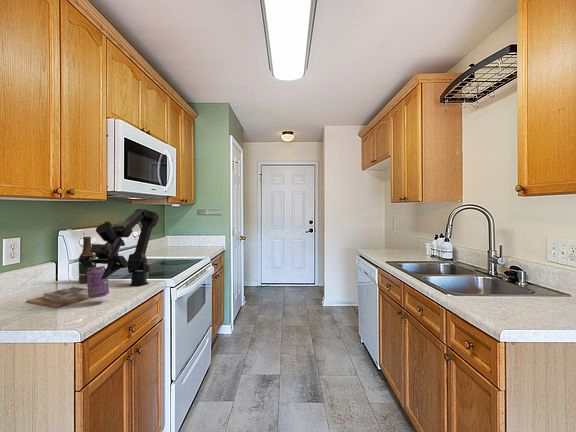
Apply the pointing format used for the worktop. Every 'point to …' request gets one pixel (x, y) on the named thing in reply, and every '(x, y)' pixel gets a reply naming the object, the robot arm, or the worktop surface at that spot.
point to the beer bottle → (85, 252)
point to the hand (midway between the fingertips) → (93, 279)
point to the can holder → (62, 297)
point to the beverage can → (97, 282)
